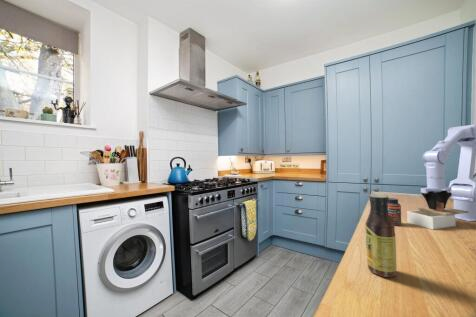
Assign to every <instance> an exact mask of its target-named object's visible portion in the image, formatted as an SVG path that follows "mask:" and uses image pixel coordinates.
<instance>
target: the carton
mask: <svg viewBox="0 0 476 317" xmlns="http://www.w3.org/2000/svg"><path fill="white" fill-rule="evenodd" d="M406 218H407V219H406V220H407V221H406V222H407V223H408V224H412V225H416V226H419V227H423V228H427V229H430V230H441V229H450V228H456V218H455V215H442V214H438V213H433V212H428V211H423V210H419V209H417V210H407V211H406Z"/></svg>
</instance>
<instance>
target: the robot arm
mask: <svg viewBox="0 0 476 317" xmlns="http://www.w3.org/2000/svg"><path fill="white" fill-rule="evenodd" d="M455 145H457V146H460V151H459V161H458V168H457V178H455V179H453V180H450V182H449V183H448V186H446V175H445V173H446V172H445V169H446V168H445V164H446V163H447V162H448V159H449V156H450V153H451V152H452V151H453V150H454V149H455ZM421 158H422V161H423V163H424V164H423V165H424V166H423V167H424V168H425V170H426V187H423V188H422V187H421V188H420V193H421V195H422V196H423V198H424V199H425V201H426V204H427V207H429V209H433V210H436V204H437V202H440V203H444V209H445V207H446V208H447V203H448V201H449V199H450V198H451V199H452V202H453V209H457V210H463V211H468V212H469V213H463V214H454V215H455V219H458V220H462V221H466V222H476V180H475V179H474V175H475V168H476V167H475V165H476V123H474V124H469V125H460V126H450V127H449V128H448V129H447V136H446V137H445V138H444V140H439V141H437V143H436V144H435V145H434V146H433V148H431V149H430V150H427V151H425V152H424V153H423V154H422V157H421Z"/></svg>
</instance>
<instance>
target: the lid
mask: <svg viewBox="0 0 476 317" xmlns="http://www.w3.org/2000/svg"><path fill="white" fill-rule="evenodd" d="M417 210H423V211H428V212H433V213H438V214H442V215H454V214H463V213H469V212H468V211H463V210H457V209H454V208H451V207H447V206H446V207H445V209H444V203H440V202H437V204H436V210H433V209H429V207H428V206H427V207H426V206H425V207H418V209H417Z"/></svg>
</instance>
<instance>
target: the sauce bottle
mask: <svg viewBox="0 0 476 317" xmlns="http://www.w3.org/2000/svg"><path fill="white" fill-rule="evenodd" d="M389 198H390V197H389V196H388V195H385V194H378V193H377V194H376V193H375V194H369V198H368V199H369V201H370V206H369V207H370V209H369V215H368V217H367V219H366V222H365V243H366V244H365V247H366V249H365V250H366V263H367V268H368V270H369V271H370V272H371V273H372V274H374V275H377V276H380V277H383V278H394V277H395V276H396V274H397V268H398V267H397V244H396V243H397V242H396V232H395V228H396V226H394V222H393V220H392V219H391V218H390V216H389V215H388V212H389V211H388V203H389Z"/></svg>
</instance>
